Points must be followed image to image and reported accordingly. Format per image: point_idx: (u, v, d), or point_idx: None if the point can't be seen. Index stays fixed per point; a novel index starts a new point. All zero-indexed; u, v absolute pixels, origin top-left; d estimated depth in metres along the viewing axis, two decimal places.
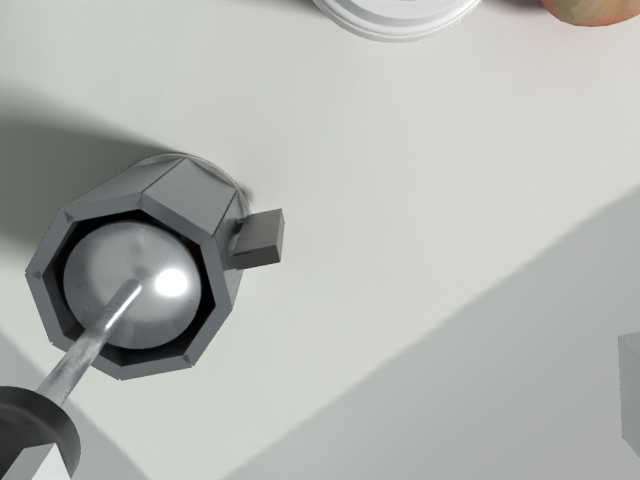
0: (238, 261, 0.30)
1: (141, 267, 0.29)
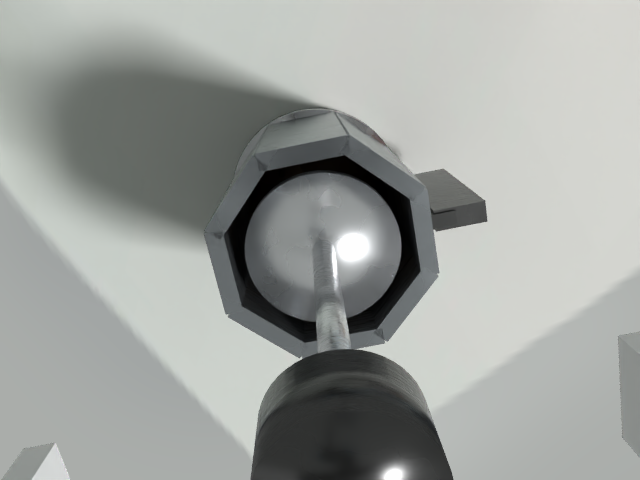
0: (440, 220, 0.26)
1: (336, 226, 0.25)
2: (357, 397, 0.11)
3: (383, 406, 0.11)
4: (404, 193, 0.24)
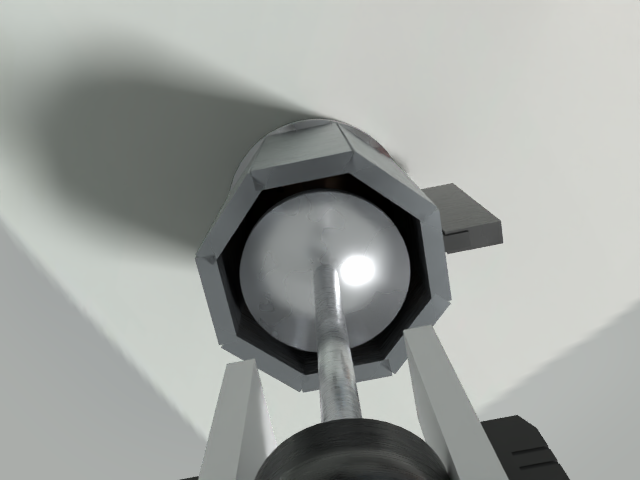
0: (452, 242, 0.24)
1: (339, 249, 0.23)
2: None
3: None
4: (414, 214, 0.22)
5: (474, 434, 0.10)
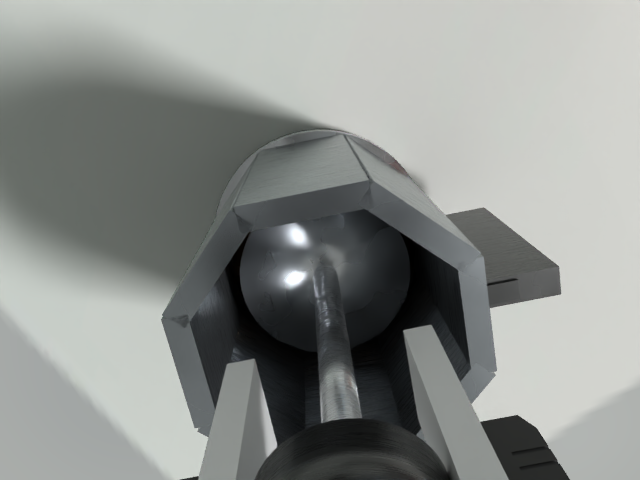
0: (496, 293, 0.19)
1: (339, 249, 0.23)
2: None
3: None
4: (450, 262, 0.17)
5: (474, 434, 0.10)
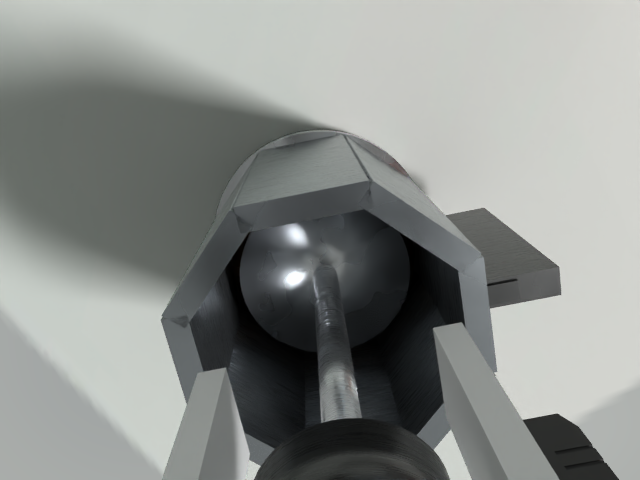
0: (496, 294, 0.19)
1: (339, 249, 0.23)
2: None
3: None
4: (450, 262, 0.17)
5: (518, 433, 0.10)
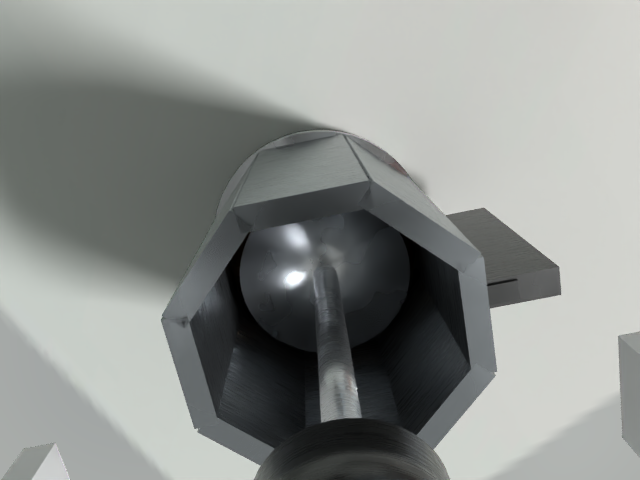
0: (496, 294, 0.19)
1: (339, 249, 0.23)
2: None
3: None
4: (450, 262, 0.17)
5: None
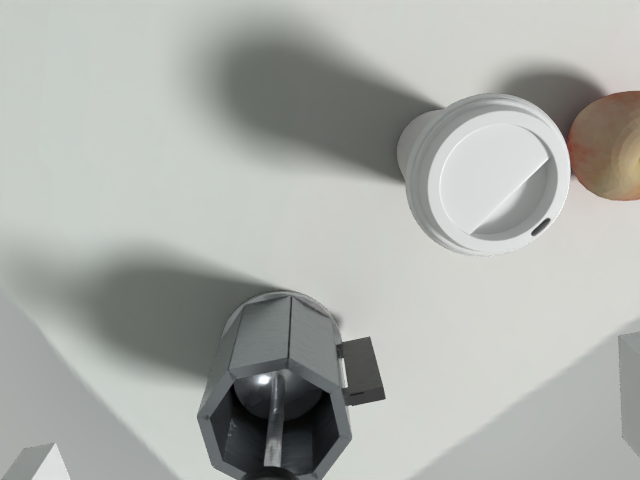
0: (354, 399, 0.39)
1: None
2: None
3: None
4: (326, 390, 0.38)
5: None
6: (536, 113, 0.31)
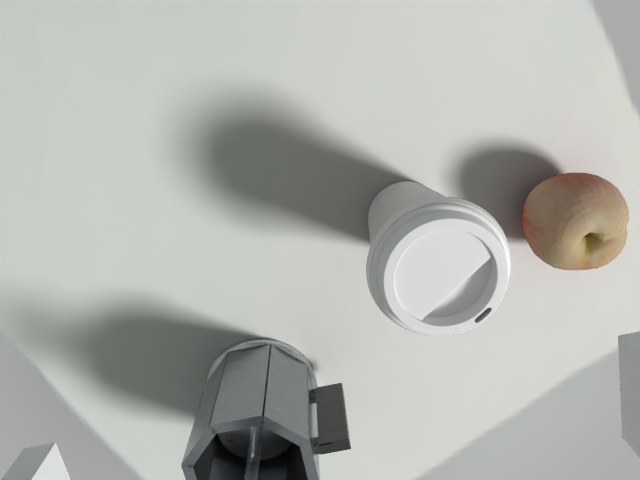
0: (322, 449, 0.44)
1: None
2: None
3: None
4: (296, 443, 0.42)
5: None
6: (480, 217, 0.35)
